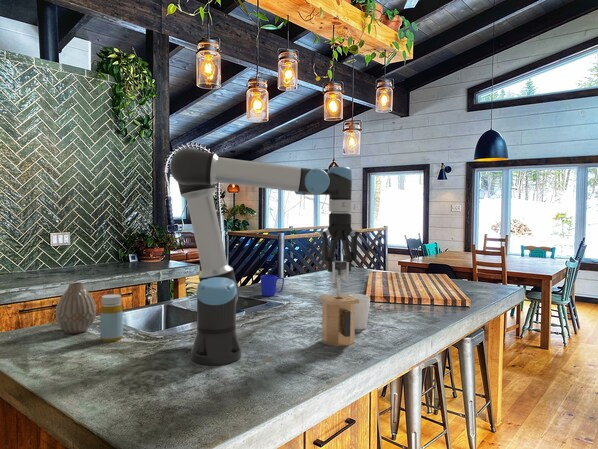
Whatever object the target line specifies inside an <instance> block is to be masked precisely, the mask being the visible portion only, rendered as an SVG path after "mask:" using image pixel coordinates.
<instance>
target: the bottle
mask: <svg viewBox="0 0 598 449" xmlns="http://www.w3.org/2000/svg"><path fill="white" fill-rule="evenodd" d="M100 300H101V301H100V302H101V307H100V310H99V316H100V318H99V320H100V321H99V322H100V323H99V324H100V326H99V328H100V340H101V341H102V342H104V343H115V342H118V341H121V340H122V338H123V335H124V333H123V332H124V331H123V328H124V326H123V325H124V324H123V322H124V321H123V320H124V319H123V318H124V317H123V316H124V315H123V307H122V294H118V293H113V294H111V293H110V294H104V295H102V296H101V299H100Z"/></svg>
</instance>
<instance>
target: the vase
mask: <svg viewBox="0 0 598 449" xmlns="http://www.w3.org/2000/svg"><path fill="white" fill-rule="evenodd" d="M83 283H84V282H79V281H76V282H70V283H69V284H68V287H67V289H66V290H65V291H64V293H63V294H62V295H61V297H60V298H59V300H58V301H57V305H56V308H55V319H56V323H57V325H58V326H59V328H60V329H61V330H62V331H64V332H65V333H66V334H81V333H84V332H87V330H88V329H89V328H91V326H92V325H93V324H94V322H95V320H96V316H97V306H96V302H95V299H94V298H93V296H92V294H90V292H89V291H88V290H87V289H86V288H85V287H84V284H83Z"/></svg>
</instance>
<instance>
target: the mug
mask: <svg viewBox="0 0 598 449" xmlns="http://www.w3.org/2000/svg"><path fill="white" fill-rule="evenodd" d="M259 277H260V290H261V295H262V296H263V297H273V296H276V295H275V294H276V293H277V294H278V293H281V292H283V289H284V284H285V278H284V277H277V275H274V274H263V275H260V276H259ZM278 280H282V283H281V284H282V285H281V288H280V290H278V291H277V282H278Z"/></svg>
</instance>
